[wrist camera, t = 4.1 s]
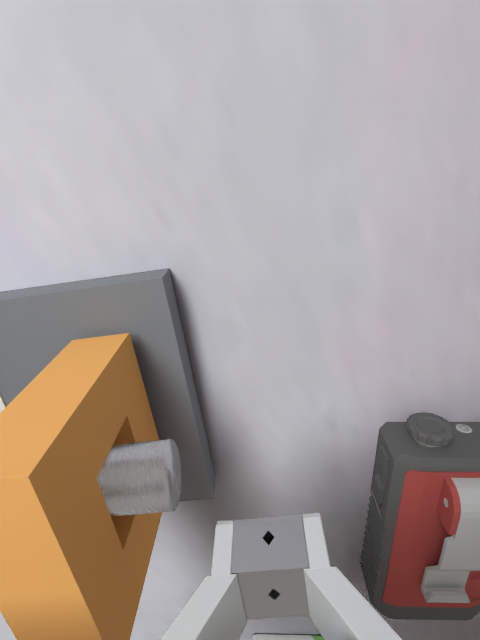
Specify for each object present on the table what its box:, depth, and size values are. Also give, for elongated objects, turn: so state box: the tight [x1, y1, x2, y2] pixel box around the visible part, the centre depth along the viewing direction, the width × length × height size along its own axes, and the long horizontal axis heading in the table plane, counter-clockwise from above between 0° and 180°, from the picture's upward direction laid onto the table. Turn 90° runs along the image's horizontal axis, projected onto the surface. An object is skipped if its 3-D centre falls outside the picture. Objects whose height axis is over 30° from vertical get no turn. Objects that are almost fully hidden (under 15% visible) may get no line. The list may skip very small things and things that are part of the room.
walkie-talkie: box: [360, 413, 480, 620], centre depth 19 cm, size 9×4×20 cm
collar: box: [0, 333, 162, 640], centre depth 14 cm, size 2×8×8 cm, turn 9°
